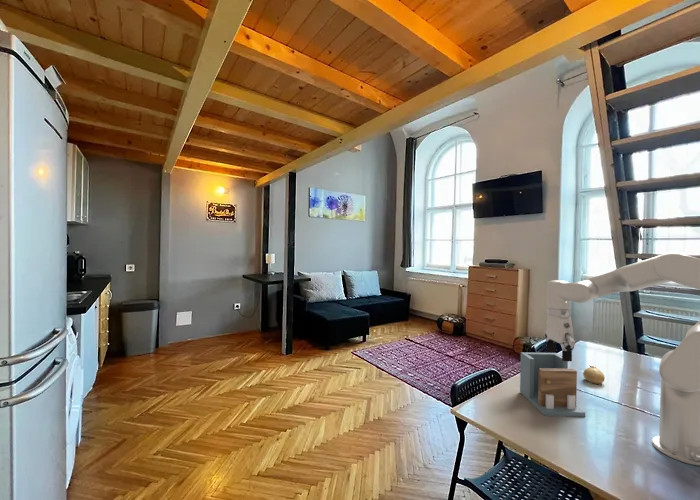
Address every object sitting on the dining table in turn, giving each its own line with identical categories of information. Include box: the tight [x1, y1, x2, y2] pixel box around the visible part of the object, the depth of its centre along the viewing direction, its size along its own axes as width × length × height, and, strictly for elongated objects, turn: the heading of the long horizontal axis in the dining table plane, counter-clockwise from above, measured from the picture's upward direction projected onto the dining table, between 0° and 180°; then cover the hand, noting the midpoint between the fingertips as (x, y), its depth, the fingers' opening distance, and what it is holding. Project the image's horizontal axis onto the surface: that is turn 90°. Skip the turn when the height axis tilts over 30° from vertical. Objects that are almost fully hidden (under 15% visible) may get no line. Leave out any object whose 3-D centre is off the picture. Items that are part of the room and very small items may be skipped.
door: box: [538, 368, 578, 407], centre depth 120 cm, size 3×13×14 cm, turn 87°
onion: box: [582, 364, 606, 385], centre depth 145 cm, size 8×8×7 cm
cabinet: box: [519, 351, 586, 417], centre depth 125 cm, size 18×15×18 cm
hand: (558, 356), depth 120 cm, fingers open, 9 cm apart
